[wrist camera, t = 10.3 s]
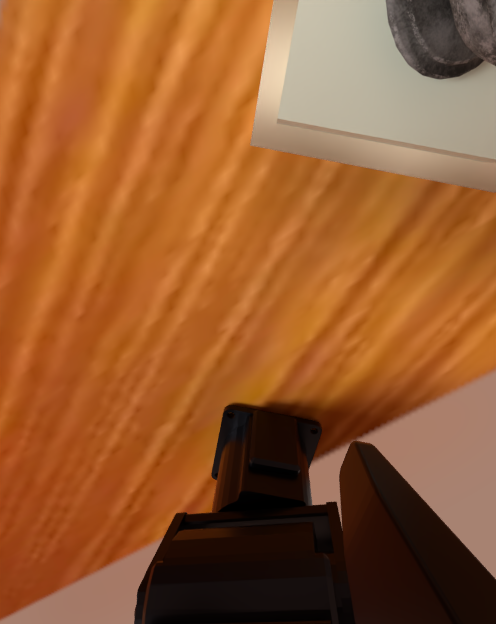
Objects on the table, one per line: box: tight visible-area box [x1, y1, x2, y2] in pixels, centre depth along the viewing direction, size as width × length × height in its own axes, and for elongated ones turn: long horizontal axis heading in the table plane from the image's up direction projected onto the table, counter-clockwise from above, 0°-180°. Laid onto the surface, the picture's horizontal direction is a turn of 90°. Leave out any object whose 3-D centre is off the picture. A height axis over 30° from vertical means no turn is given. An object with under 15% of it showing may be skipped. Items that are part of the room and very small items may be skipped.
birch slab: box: [250, 0, 496, 193], centre depth 15 cm, size 11×11×2 cm
